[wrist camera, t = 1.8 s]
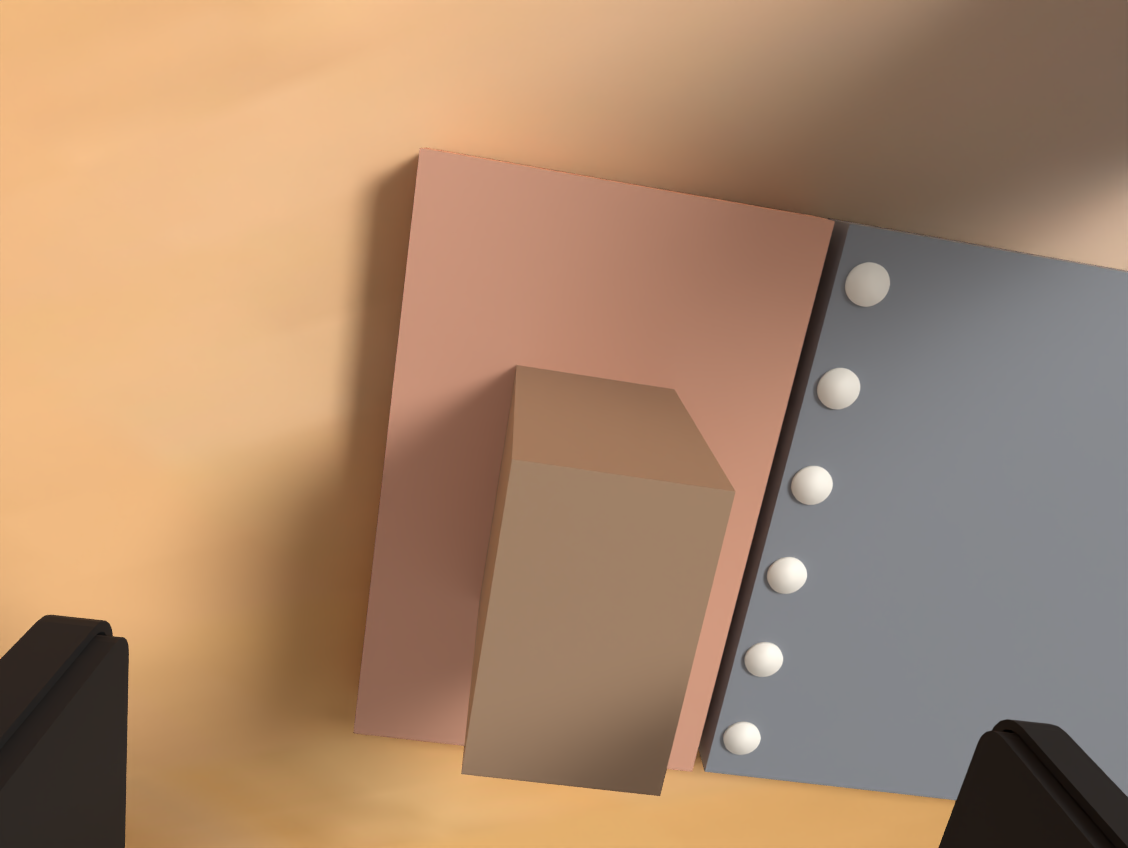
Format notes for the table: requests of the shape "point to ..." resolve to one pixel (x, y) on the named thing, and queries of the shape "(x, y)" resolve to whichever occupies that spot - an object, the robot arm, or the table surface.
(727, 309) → the pink slab with block
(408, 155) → the table surface
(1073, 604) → the grey dotted square slab
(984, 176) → the table surface
